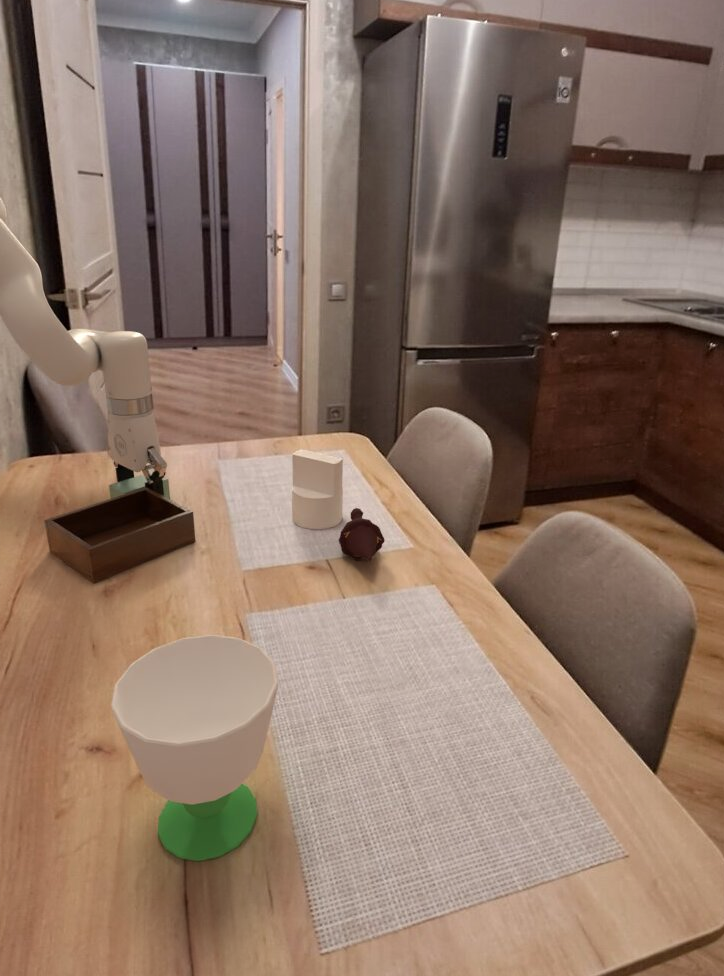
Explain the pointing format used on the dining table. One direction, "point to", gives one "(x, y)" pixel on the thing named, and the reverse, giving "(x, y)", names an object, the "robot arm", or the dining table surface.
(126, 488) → the block
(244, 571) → the dining table surface
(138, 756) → the cup
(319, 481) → the base with upright slab
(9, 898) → the dining table surface
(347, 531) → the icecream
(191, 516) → the box
